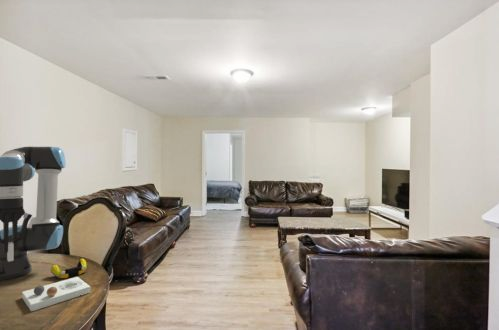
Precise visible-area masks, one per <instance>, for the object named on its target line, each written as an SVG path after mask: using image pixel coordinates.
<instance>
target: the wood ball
mask: <svg viewBox="0 0 499 330" xmlns="http://www.w3.org/2000/svg"><path fill="white" fill-rule="evenodd" d="M56 293H57V288H56V287H50V288H49V289H48V290H47V295H48V296H54V295H55V294H56Z"/></svg>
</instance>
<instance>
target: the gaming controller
mask: <svg viewBox="0 0 499 330" xmlns="http://www.w3.org/2000/svg"><path fill="white" fill-rule="evenodd" d="M86 271H87V261H86V260H85V259H84V258H80V259H79V261H78V263H77V265H76V266H74V267H71V268H66V269H64V270H62V269H61V268H60V267H59V266H58V265H57V264H53V265H52V266H51V268H50V273H51V274H52V275H53V276H54V277H56V278H59V279H60V280H62V279H67V278H68V279H69V278H71V277H72V278H73V277H77V276H79V275H82V274H83V273H84V274H85V273H86Z"/></svg>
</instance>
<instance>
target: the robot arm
mask: <svg viewBox="0 0 499 330" xmlns="http://www.w3.org/2000/svg"><path fill="white" fill-rule="evenodd" d="M65 168H66V156H65V153H64V150H63V149H62V148H61V147H60V146H58V147H57V146H22V147H17V148H13V149H10V150H7V151H5V152H4V153H2V155H0V221H1V223H3V224H2V225H3V229H0V281H2V280H9V279H15V278H19V277H22V276H26V275H27V274H29V273H31V272H32V269H33V268H32V266H33V265H32V263H31V261H30V259H29V257H28V252H35V251H43V250H52V249H57V248H59V246H60V244H62V240H63V235H64V226H63V225H61V224H60V221H59V220H58V219H57V209H58V208H57V207H58V188H59V187H58V182H59V181H58V180H59V179H58V177H59V174H61V173H62V169H65ZM35 173H36V174H37V175H38V177H37V192H36V193H37V194H36V211H35V213H36V214H35V221H33V223H31V227H28V224H29V221H30V220H31V218H32V217H33V215H32V214H31V213H28V212H26V211H25V209H24V198H23V197H24V182H27V181H30V180H32V179H33V177H34V176H35ZM22 217H23V221H22V224H19V220H21V218H22ZM10 223H11V224H12V225H11V226H10ZM18 224H19V225H18ZM9 226H10V227H9Z"/></svg>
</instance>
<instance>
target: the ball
mask: <svg viewBox="0 0 499 330" xmlns="http://www.w3.org/2000/svg"><path fill="white" fill-rule="evenodd" d="M43 286H44V285H37V286H35V289H34V288H33V289H34V293H35V294H36V295H40V294H42V293H43V292H44V287H43Z"/></svg>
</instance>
